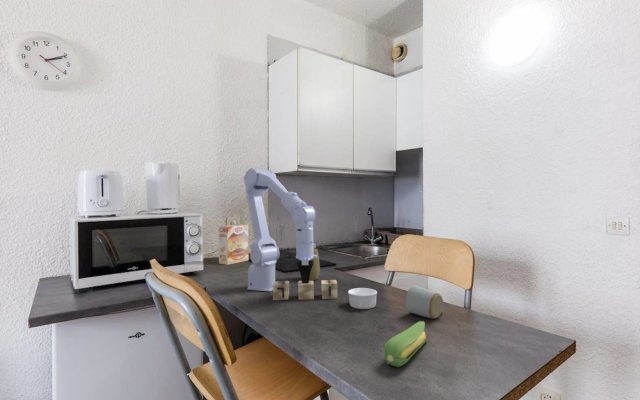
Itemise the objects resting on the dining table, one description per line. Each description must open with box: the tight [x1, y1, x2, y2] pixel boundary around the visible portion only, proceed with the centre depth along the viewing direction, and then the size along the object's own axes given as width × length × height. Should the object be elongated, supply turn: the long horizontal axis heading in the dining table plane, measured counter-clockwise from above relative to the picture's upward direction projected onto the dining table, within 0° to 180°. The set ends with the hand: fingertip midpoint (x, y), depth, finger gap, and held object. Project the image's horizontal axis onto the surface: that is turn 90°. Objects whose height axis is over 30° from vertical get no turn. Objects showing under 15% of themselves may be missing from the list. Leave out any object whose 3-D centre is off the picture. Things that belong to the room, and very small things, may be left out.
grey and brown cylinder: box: [404, 285, 444, 320], centre depth 94 cm, size 11×8×8 cm
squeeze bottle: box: [309, 243, 321, 281], centre depth 137 cm, size 8×8×18 cm
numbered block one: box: [320, 279, 338, 300], centre depth 113 cm, size 5×5×5 cm
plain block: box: [297, 280, 315, 301], centre depth 112 cm, size 5×5×5 cm
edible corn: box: [383, 320, 427, 368], centre depth 72 cm, size 5×20×5 cm
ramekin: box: [347, 287, 378, 310], centre depth 103 cm, size 9×9×4 cm
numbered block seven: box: [272, 280, 290, 301], centre depth 112 cm, size 5×5×5 cm
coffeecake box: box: [218, 223, 249, 266], centre depth 177 cm, size 15×7×20 cm, turn 147°
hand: (305, 282), depth 112 cm, fingers closed, pressing on plain block
